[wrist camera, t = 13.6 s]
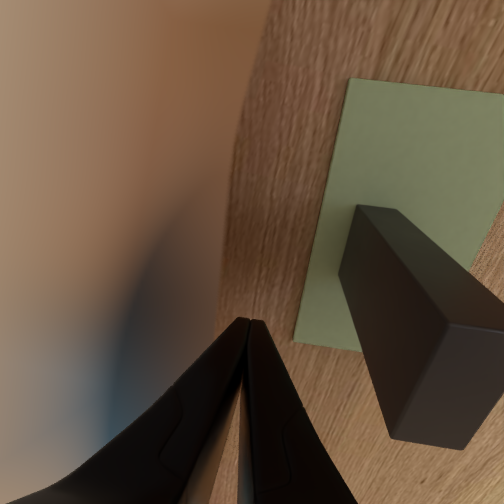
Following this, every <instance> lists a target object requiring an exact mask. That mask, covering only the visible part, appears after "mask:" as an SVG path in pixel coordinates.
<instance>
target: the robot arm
mask: <svg viewBox="0 0 504 504" xmlns="http://www.w3.org/2000/svg"><path fill="white" fill-rule="evenodd" d="M241 383H242V385H241ZM240 389H241V396H240V426H239V459H238V492H237V504H358V503H357V501H356V500H355V498H354V496H353V495H352V493H351V491H350V490H349V488H348V486H347V485H346V483H345V481H344V480H343V478H342V476H341V475H340V473H339V471H338V470H337V468H336V466H335V465H334V463H333V462H332V460H331V458H330V456H329V455H328V453H327V451H326V449H325V448H324V446H323V444H322V442H321V441H320V439H319V437H318V435H317V433H316V431H315V429H314V427H313V425H312V423H311V421H310V419H309V417H308V415H307V413H306V410H305V408H304V407H303V404H302V402H301V400H300V398H299V395H298V393H297V391H296V389H295V387H294V385H293V382H292V380H291V378H290V376H289V374H288V372H287V369H286V367H285V365H284V363H283V361H282V359H281V356H280V354H279V352H278V350H277V348H276V346H275V343H274V341H273V339H272V337H271V335H270V333H269V330H268V328H267V326H266V324H265V322H264V321H263V320H257V319H252V320H251V322H250V319H249V318H244V317H237V318H236V319H235V320H234V321H233V322H232V323H231V324H230V325H229V327H228V328H227V329H226V330H225V331H224V332H223V333H222V334H221V335H220V336H219V337H218V338H217V339H216V340H215V341H214V342H213V343H212V344H211V345H210V346H209V347H208V348H207V349H206V350H205V351H204V352H203V353H202V355H201V356H200V357H199V358H198V359H197V360H196V361H195V362H194V363H193V364H192V365H191V366H190V367H189V368H188V369H187V370H186V371H185V372H184V373H183V374H182V375H181V376H180V377H179V378H178V379H177V380H176V382H174V384H173V385H172V386H170V388H168V390H167V391H166V392H165V393H164V394H163V395H162V396H161V397H160V398H159V399H158V400H157V401H156V402H155V403H154V404H153V405H152V406H151V407H150V408H148V409H147V410H146V411H145V412H144V413H143V414H142V415H141V416H140V417H138V418H137V419H136V420H135V421H134V422H133V423H131V424H130V425H129V426H128V427H127V428H125V429H124V430H123V431H122V432H121V433H119V434H118V435H117V436H116V437H115V438H113V439H112V440H111V441H110V442H109V443H107V444H106V445H105V446H104V447H103V448H102V449H100V450H99V451H98V452H97V453H95V454H94V455H93V456H92V457H91V458H89V459H88V460H87V461H86V462H85V463H83V464H82V465H81V466H80V467H78V468H77V469H76V470H75V471H73V472H72V473H70V474H69V475H67V476H66V477H64V478H63V479H61V480H60V481H58V482H56V483H54V484H53V485H51V486H49V487H47V488H45V489H42V490H40V491H37V492H35V493H32V494H30V495H27V496H25V497H22V498H20V499H17V500H14V501H12V502H10V503H7V504H209V500H210V497H211V493H212V490H213V486H214V483H215V479H216V475H217V472H218V468H219V465H220V461H221V458H222V454H223V451H224V447H225V444H226V440H227V436H228V433H229V429H230V426H231V422H232V419H233V415H234V412H235V408H236V404H237V401H238V397H239V393H240Z"/></svg>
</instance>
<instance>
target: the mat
mask: <svg viewBox="0 0 504 504" xmlns="http://www.w3.org/2000/svg"><path fill="white" fill-rule="evenodd" d="M503 201H504V94H497V93H488V92H479V91H469V90H460V89H451V88H442V87H433V86H423V85H414V84H405V83H396V82H387V81H377V80H368V79H359V78H349V80H348V84H347V89H346V94H345V98H344V103H343V107H342V112H341V117H340V121H339V126H338V131H337V135H336V140H335V145H334V149H333V154H332V158H331V163H330V168H329V172H328V177H327V182H326V186H325V191H324V196H323V200H322V205H321V210H320V214H319V219H318V223H317V228H316V233H315V237H314V242H313V247H312V251H311V256H310V261H309V265H308V270H307V275H306V279H305V284H304V288H303V293H302V298H301V302H300V307H299V312H298V316H297V321H296V326H295V330H294V335H293V342H299V343H305V344H312V345H318V346H325V347H331V348H338V349H344V350H351V351H358V352H362V349H361V345H360V342H359V339H358V336H357V333H356V330H355V327H354V324H353V320H352V317H351V314H350V311H349V308H348V305H347V302H346V298H345V295H344V292H343V289H342V286H341V283H340V280H339V277H338V272H339V268H340V264H341V261H342V257H343V253H344V250H345V246H346V242H347V238H348V235H349V231H350V227H351V224H352V220H353V216H354V212H355V209H356V205H357V204H361V205H369V206H377V207H385V208H392V209H397V210H398V211H400V212H401V213H402V214H403V215H404V216H405V217H406V218H408V219H409V220H410V221H411V222H412V223H413V224H414V225H416V226H417V227H418V228H419V229H420V230H421V231H422V232H423V233H425V234H426V235H427V236H428V237H429V238H430V239H431V240H433V241H434V242H435V243H436V244H437V245H438V246H439V247H441V248H442V249H443V250H444V251H445V252H446V253H447V254H448V255H450V256H451V257H452V258H453V259H454V260H455V261H456V262H458V263H459V264H460V265H461V266H462V267H463V268H464V269H466V270H467V271H469V269H470V267H471V265H472V263H473V261H474V259H475V257H476V255H477V253H478V251H479V249H480V247H481V245H482V243H483V241H484V239H485V237H486V235H487V233H488V231H489V229H490V227H491V225H492V223H493V221H494V219H495V217H496V215H497V213H498V211H499V209H500V207H501V205H502V203H503Z"/></svg>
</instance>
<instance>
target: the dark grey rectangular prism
mask: <svg viewBox="0 0 504 504" xmlns="http://www.w3.org/2000/svg"><path fill="white" fill-rule="evenodd" d="M338 277H339V280H340V283H341V286H342V289H343V292H344V295H345V298H346V302H347V305H348V308H349V311H350V314H351V317H352V320H353V324H354V327H355V330H356V333H357V336H358V339H359V342H360V345H361V349H362V352H363V355H364V358H365V361H366V364H367V367H368V370H369V374H370V377H371V380H372V383H373V386H374V389H375V392H376V395H377V399H378V402H379V405H380V408H381V411H382V414H383V417H384V420H385V424H386V427H387V430H388V433H389V436H390V438H391V439H394V440H400V441H406V442H412V443H418V444H424V445H430V446H436V447H442V448H448V449H455V450H464V449H465V447H466V446H467V444H468V443H469V442H470V440H471V439H472V437H473V436H474V434H475V433H476V432H477V430H478V429H479V427H480V426H481V425H482V423H483V422H484V420H485V419H486V417H487V416H488V415H489V413H490V412H491V410H492V409H493V408H494V406H495V405H496V403H497V402H498V401H499V399H500V398H501V396H502V395H503V393H504V303H503V302H502V301H501V300H500V299H499V298H497V297H496V296H495V295H494V294H493V293H492V292H491V291H489V290H488V289H487V288H486V287H485V286H484V285H483V284H481V283H480V282H479V281H478V280H477V279H476V278H475V277H474V276H472V275H471V274H470V273H469V272H468V271H467V270H466V269H464V268H463V267H462V266H461V265H460V264H459V263H458V262H456V261H455V260H454V259H453V258H452V257H451V256H450V255H448V254H447V253H446V252H445V251H444V250H443V249H442V248H441V247H439V246H438V245H437V244H436V243H435V242H434V241H433V240H431V239H430V238H429V237H428V236H427V235H426V234H425V233H423V232H422V231H421V230H420V229H419V228H418V227H417V226H416V225H414V224H413V223H412V222H411V221H410V220H409V219H408V218H406V217H405V216H404V215H403V214H402V213H401V212H400V211H398V210H397V209H392V208H385V207H377V206H369V205H361V204H357V205H356V209H355V212H354V216H353V220H352V224H351V227H350V231H349V235H348V238H347V242H346V246H345V250H344V253H343V257H342V261H341V264H340V268H339V272H338Z"/></svg>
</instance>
